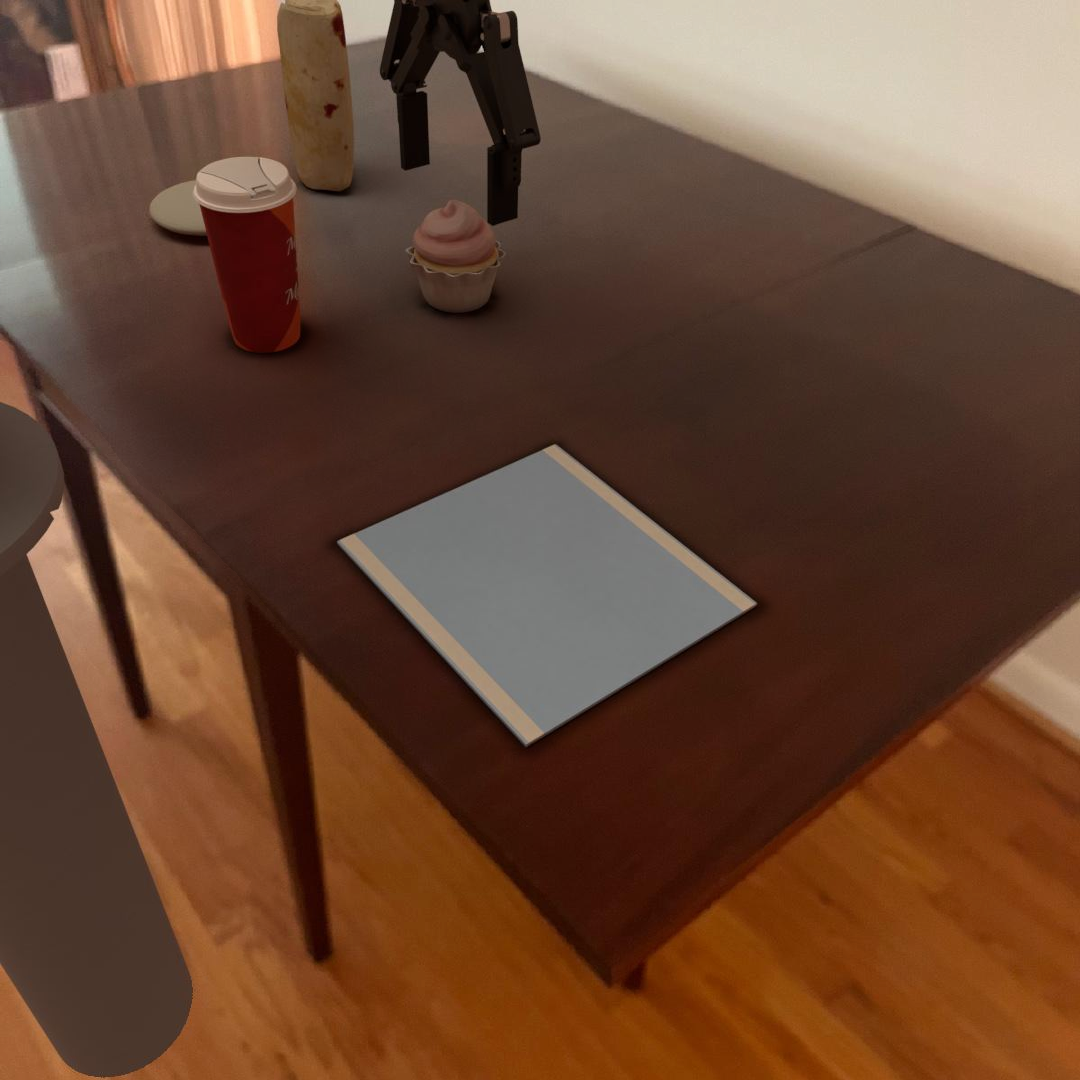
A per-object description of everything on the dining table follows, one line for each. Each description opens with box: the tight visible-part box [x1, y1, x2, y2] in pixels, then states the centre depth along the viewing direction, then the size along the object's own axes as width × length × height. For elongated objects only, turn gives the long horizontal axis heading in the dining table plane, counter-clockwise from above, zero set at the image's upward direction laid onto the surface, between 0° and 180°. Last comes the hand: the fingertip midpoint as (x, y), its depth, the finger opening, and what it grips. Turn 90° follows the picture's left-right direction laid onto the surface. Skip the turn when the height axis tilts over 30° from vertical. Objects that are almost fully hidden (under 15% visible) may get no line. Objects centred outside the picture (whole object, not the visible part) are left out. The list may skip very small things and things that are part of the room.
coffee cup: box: [193, 156, 301, 354], centre depth 90 cm, size 8×8×15 cm
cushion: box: [148, 179, 207, 237], centre depth 110 cm, size 12×12×3 cm
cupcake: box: [404, 199, 507, 314], centre depth 98 cm, size 9×9×10 cm
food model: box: [276, 0, 355, 192], centre depth 113 cm, size 10×7×20 cm
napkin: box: [336, 443, 758, 748], centre depth 73 cm, size 22×20×1 cm
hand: (457, 192), depth 94 cm, fingers open, 13 cm apart
